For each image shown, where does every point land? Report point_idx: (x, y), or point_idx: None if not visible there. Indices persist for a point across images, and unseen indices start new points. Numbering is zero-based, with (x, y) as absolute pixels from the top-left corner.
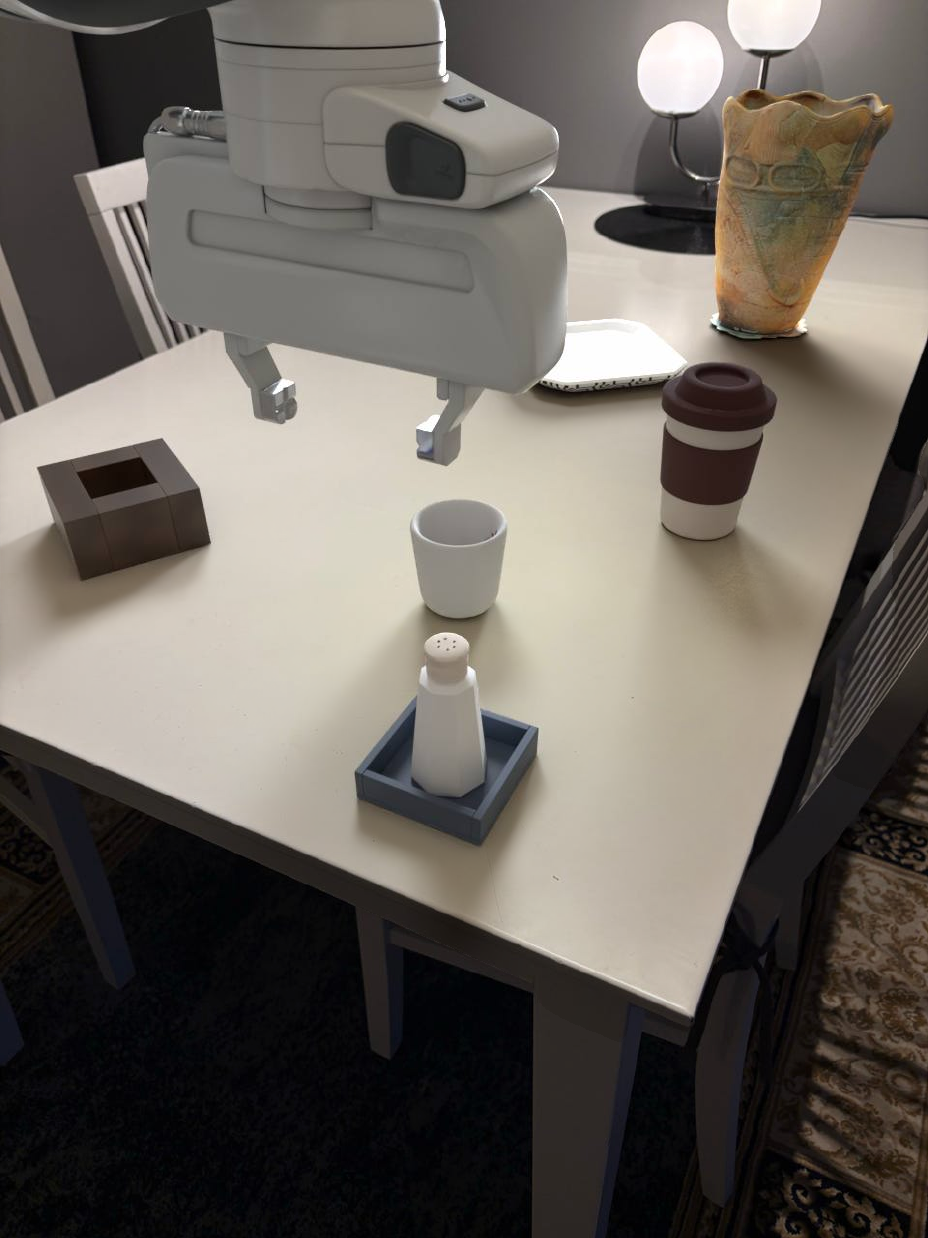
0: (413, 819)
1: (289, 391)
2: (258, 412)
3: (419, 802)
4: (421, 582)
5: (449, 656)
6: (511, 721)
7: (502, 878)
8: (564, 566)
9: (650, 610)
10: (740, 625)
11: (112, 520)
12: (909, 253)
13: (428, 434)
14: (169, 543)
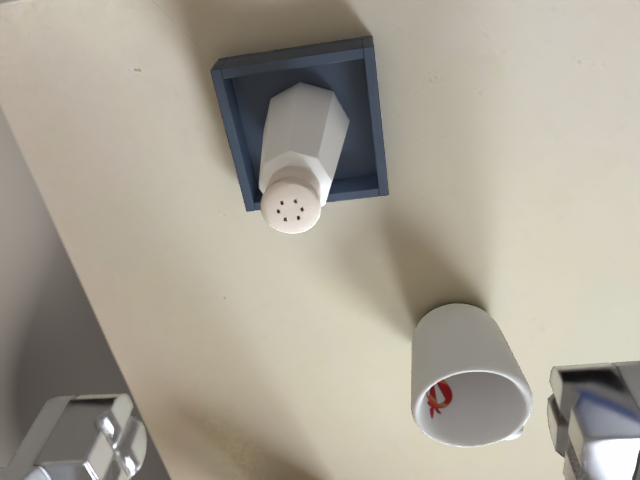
0: (298, 47)
1: (570, 472)
2: (633, 375)
3: (286, 56)
4: (488, 326)
5: (271, 193)
6: None
7: (175, 37)
8: (386, 413)
9: (279, 396)
10: (202, 412)
11: None
12: None
13: (52, 455)
14: None
